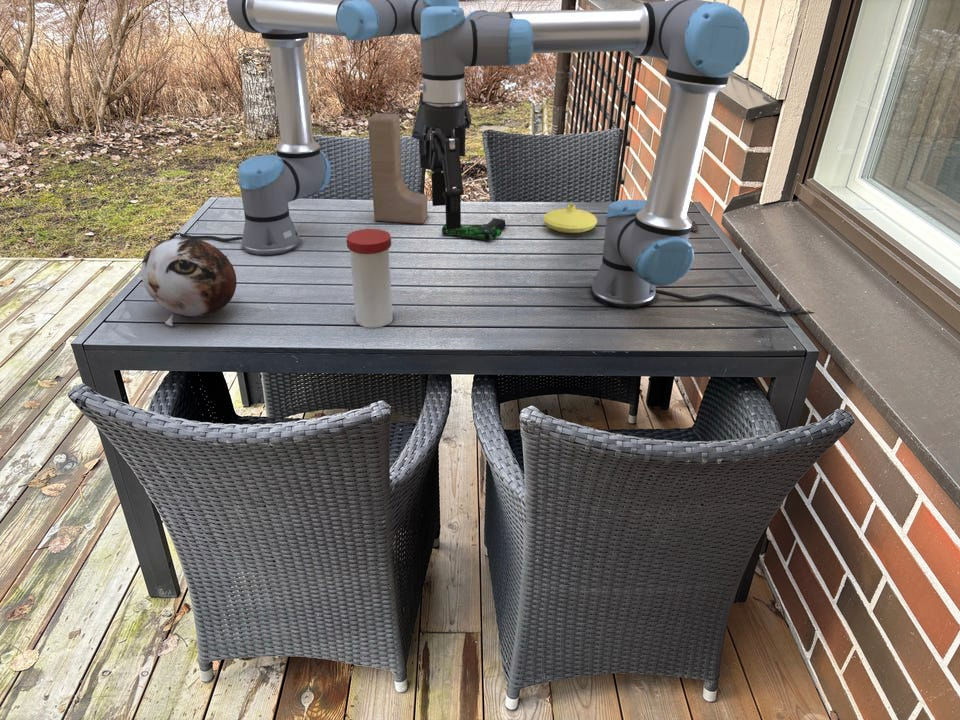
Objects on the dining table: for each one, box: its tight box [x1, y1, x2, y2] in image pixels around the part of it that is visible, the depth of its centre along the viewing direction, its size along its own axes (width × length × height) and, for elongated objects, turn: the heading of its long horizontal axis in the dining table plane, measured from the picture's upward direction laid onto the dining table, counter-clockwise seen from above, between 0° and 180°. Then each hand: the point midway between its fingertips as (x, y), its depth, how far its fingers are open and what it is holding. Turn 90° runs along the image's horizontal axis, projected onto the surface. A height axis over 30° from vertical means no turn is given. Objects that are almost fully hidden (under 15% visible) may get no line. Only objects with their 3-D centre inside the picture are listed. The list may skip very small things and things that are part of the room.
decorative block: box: [367, 112, 429, 225], centre depth 209 cm, size 8×15×30 cm, turn 82°
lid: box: [346, 228, 392, 254], centre depth 151 cm, size 9×9×2 cm
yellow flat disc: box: [543, 203, 598, 234], centre depth 209 cm, size 16×16×7 cm
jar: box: [349, 248, 394, 329], centre depth 155 cm, size 8×8×19 cm
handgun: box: [441, 217, 506, 242], centre depth 207 cm, size 16×3×15 cm
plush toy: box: [140, 236, 238, 327], centre depth 157 cm, size 22×18×20 cm
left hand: (443, 161), depth 169 cm, fingers open, 13 cm apart
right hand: (446, 216), depth 139 cm, fingers open, 13 cm apart
